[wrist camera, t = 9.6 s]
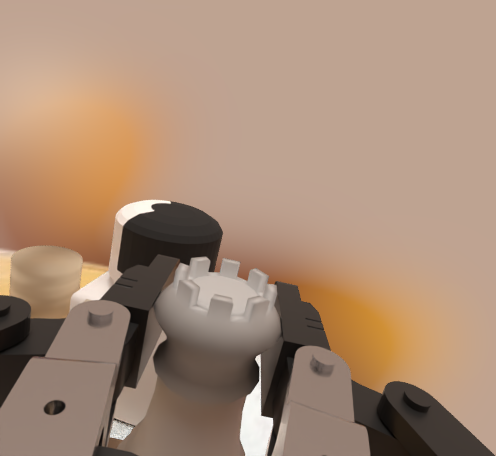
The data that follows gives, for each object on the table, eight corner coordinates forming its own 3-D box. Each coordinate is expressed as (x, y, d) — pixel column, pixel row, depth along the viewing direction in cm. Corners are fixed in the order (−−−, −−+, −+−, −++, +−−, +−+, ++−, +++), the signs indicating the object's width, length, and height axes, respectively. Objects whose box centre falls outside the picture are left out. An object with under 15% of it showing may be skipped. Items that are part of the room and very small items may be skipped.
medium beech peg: (-8, 355, 23) (-5, 263, 21) (30, 321, 27) (35, 241, 25) (54, 368, 23) (63, 278, 21) (83, 333, 27) (93, 254, 25)
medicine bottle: (208, 364, 27) (245, 213, 24) (171, 442, 20) (216, 246, 17) (121, 335, 28) (144, 184, 24) (57, 400, 21) (76, 205, 18)
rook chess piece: (206, 434, 14) (254, 243, 12) (271, 557, 11) (356, 319, 8) (81, 473, 12) (112, 241, 9) (111, 651, 8) (172, 347, 6)
